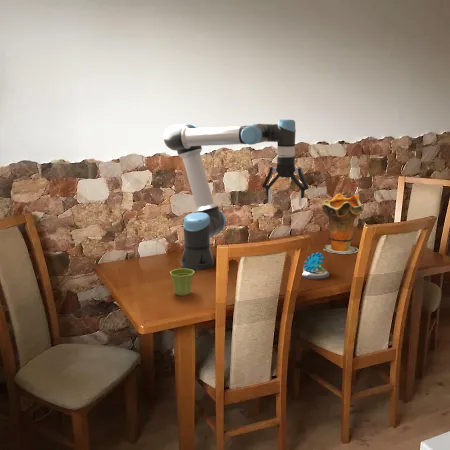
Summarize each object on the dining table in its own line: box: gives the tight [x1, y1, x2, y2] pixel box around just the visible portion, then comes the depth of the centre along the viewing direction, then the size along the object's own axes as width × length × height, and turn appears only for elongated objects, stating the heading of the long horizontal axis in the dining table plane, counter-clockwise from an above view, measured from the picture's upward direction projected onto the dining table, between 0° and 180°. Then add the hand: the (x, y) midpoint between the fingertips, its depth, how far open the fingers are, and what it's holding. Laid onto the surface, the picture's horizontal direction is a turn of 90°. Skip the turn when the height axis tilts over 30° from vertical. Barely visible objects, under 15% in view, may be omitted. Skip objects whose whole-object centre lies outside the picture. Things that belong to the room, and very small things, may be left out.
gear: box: [303, 251, 325, 273], centre depth 223 cm, size 11×6×10 cm
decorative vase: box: [321, 193, 365, 255], centre depth 258 cm, size 21×23×28 cm
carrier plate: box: [301, 267, 330, 281], centre depth 223 cm, size 13×13×2 cm
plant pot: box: [169, 267, 195, 296], centre depth 202 cm, size 9×9×9 cm
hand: (284, 204), depth 228 cm, fingers open, 13 cm apart
